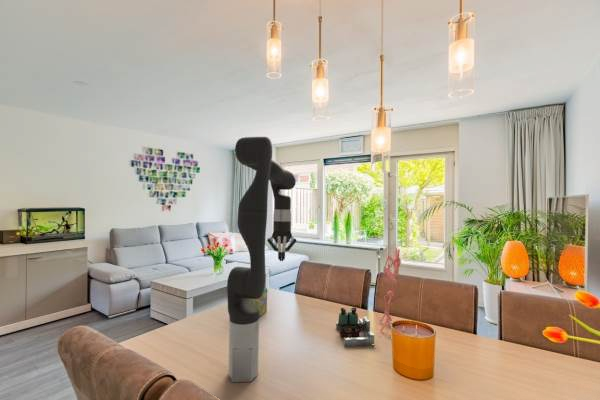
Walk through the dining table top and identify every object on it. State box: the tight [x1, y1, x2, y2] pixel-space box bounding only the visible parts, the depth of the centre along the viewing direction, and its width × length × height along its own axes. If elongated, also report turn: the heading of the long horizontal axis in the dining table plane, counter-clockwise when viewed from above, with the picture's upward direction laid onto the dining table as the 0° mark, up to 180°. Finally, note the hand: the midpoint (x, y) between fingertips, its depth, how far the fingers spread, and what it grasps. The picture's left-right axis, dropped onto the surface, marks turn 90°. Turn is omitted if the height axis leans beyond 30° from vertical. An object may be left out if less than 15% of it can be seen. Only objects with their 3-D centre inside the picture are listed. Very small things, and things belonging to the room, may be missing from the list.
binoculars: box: [337, 307, 362, 339], centre depth 121 cm, size 9×11×10 cm
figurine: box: [379, 247, 402, 338], centre depth 129 cm, size 15×26×35 cm, turn 167°
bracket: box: [335, 315, 375, 347], centre depth 121 cm, size 16×12×7 cm
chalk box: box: [246, 287, 268, 318], centre depth 144 cm, size 9×9×15 cm
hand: (281, 260), depth 127 cm, fingers closed
